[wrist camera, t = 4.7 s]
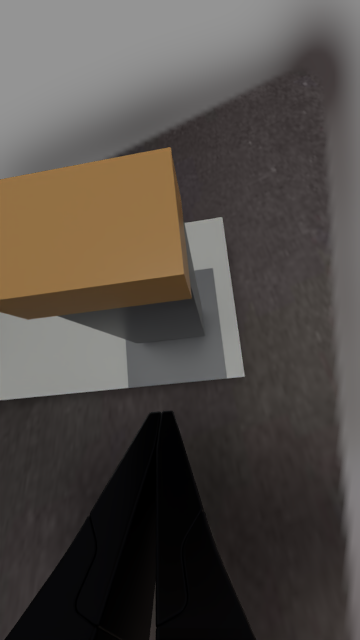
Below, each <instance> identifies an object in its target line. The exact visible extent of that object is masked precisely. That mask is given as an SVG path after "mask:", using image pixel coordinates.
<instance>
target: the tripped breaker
mask: <svg viewBox="0 0 360 640" xmlns="http://www.w3.org/2000/svg"><path fill="white" fill-rule="evenodd" d="M0 312H1V313H5V314H9V315H12V316H16V317H20V318H23V319H27V320H30V319H37V318H45V317H53V316H59V317H61V318H64V319H67V320H70V321H73V322H76V323H79V324H82V325H85V326H88V327H91V328H93V329H96V330H99V331H102V332H105V333H108V334H111V335H114V336H117V337H120V338H123V339H125V340H128V341H131V342H134V343H145V342H154V341H163V340H172V339H180V338H189V337H198V336H205V332H204V324H203V315H202V307H201V301H200V296H199V291H198V286H197V281H196V277H195V272H194V267H193V262H192V257H191V252H190V247H189V242H188V238H187V233H186V228H185V223H184V218H183V213H182V205H181V198H180V192H179V187H178V182H177V177H176V172H175V167H174V162H173V157H172V152H171V147H169V148H164V149H158V150H153V151H148V152H143V153H137V154H132V155H127V156H122V157H116V158H111V159H106V160H100V161H95V162H90V163H85V164H80V165H74V166H69V167H63V168H58V169H53V170H48V171H42V172H37V173H32V174H27V175H21V176H16V177H11V178H6V179H0Z"/></svg>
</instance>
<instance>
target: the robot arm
mask: <svg viewBox="0 0 360 640" xmlns="http://www.w3.org/2000/svg"><path fill="white" fill-rule="evenodd" d="M155 581H156V627H157V628H156V640H256V638H255V636H254V634H253V631H252V629H251V627H250V625H249V622H248V620H247V618H246V615H245V613H244V611H243V609H242V606H241V604H240V602H239V600H238V597H237V595H236V593H235V590H234V588H233V586H232V584H231V581H230V579H229V577H228V574H227V572H226V570H225V567H224V565H223V562H222V560H221V558H220V555H219V553H218V550H217V548H216V545H215V542H214V539H213V536H212V533H211V530H210V527H209V524H208V521H207V518H206V515H205V512H204V509H203V505H202V502H201V499H200V496H199V493H198V489H197V486H196V483H195V480H194V476H193V473H192V470H191V467H190V463H189V460H188V457H187V454H186V451H185V447H184V444H183V441H182V438H181V434H180V431H179V428H178V425H177V422H176V418H175V415H174V412H173V411H163V412H162V413H161V412H151V413H149V414H148V416H147V418H146V419H145V421H144V423H143V424H142V426H141V428H140V430H139V431H138V433H137V435H136V436H135V438H134V440H133V441H132V443H131V445H130V446H129V448H128V450H127V452H126V453H125V455H124V457H123V458H122V460H121V462H120V463H119V465H118V467H117V468H116V470H115V472H114V474H113V475H112V477H111V479H110V480H109V482H108V484H107V485H106V487H105V489H104V490H103V492H102V494H101V496H100V497H99V499H98V501H97V502H96V504H95V506H94V507H93V509H92V511H91V512H90V516H88V517H87V519H86V521H85V522H84V524H83V526H82V528H81V529H80V531H79V533H78V534H77V536H76V537H75V539H74V541H73V542H72V544H71V545H70V547H69V549H68V550H67V552H66V553H65V555H64V556H63V558H62V559H61V561H60V562H59V563H58V565H57V566H56V568H55V569H54V571H53V572H52V574H51V575H50V577H49V578H48V579H47V581H46V582H45V584H44V585H43V586H42V588H41V589H40V591H39V592H38V594H37V595H36V596H35V598H34V599H33V601H32V602H31V603H30V605H29V606H28V608H27V609H26V611H25V612H24V613H23V615H22V616H21V618H20V619H19V620H18V622H17V623H16V625H15V626H14V628H13V629H12V630H11V632H10V633H9V634H8V636H7V637H6V638H5V640H149V637H150V628H151V618H152V609H153V599H154V590H155Z"/></svg>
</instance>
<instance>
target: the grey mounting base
mask: <svg viewBox="0 0 360 640" xmlns="http://www.w3.org/2000/svg"><path fill="white" fill-rule="evenodd" d="M185 228H186V233H187V238H188V242H189V247H190V252H191V257H192V262H193V267H194V272H195V277H196V281H197V286H198V291H199V296H200V301H201V307H202V315H203V324H204V332H205V336H198V337H189V338H180V339H172V340H163V341H154V342H145V343H134V342H131V341H128V340H125V339H123V338H120V337H117V336H114V335H111V334H108V333H105V332H102V331H99V330H96V329H93V328H91V327H88V326H85V325H82V324H79V323H76V322H73V321H70V320H67V319H64V318H61V317H59V316H53V317H45V318H37V319H30V320H27V319H23V318H20V317H16V316H12V315H9V314H5V313H1V312H0V400H8V399H18V398H29V397H39V396H50V395H60V394H70V393H81V392H91V391H101V390H112V389H122V388H133V387H143V386H153V385H164V384H174V383H185V382H195V381H205V380H216V379H226V378H236V377H245V375H244V368H243V361H242V354H241V347H240V340H239V332H238V325H237V318H236V311H235V304H234V297H233V290H232V283H231V276H230V269H229V262H228V255H227V248H226V241H225V234H224V227H223V220H222V217H220V218H214V219H208V220H202V221H195V222H189V223H185Z"/></svg>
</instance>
